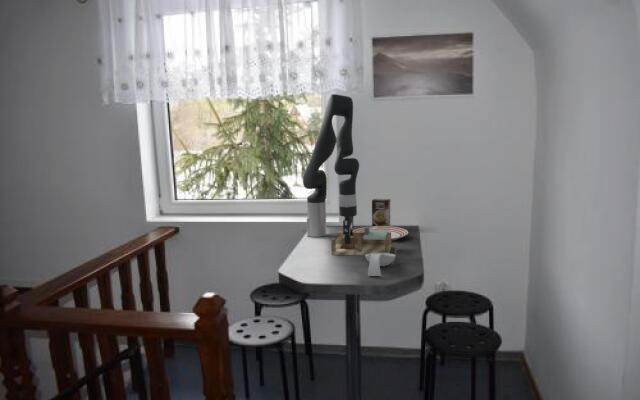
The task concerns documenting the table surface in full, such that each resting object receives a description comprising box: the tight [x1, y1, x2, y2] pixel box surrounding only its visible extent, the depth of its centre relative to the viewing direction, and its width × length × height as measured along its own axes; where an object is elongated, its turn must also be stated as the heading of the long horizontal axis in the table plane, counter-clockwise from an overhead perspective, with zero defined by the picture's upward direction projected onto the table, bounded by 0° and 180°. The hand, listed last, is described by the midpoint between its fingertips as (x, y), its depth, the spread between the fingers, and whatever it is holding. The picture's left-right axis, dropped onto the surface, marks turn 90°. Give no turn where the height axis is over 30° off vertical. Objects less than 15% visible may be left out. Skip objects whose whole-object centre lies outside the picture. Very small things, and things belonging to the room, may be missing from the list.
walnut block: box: [342, 236, 355, 249], centre depth 216 cm, size 5×5×6 cm
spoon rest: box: [364, 252, 396, 277], centre depth 189 cm, size 24×12×7 cm, turn 167°
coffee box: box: [371, 198, 391, 227], centre depth 262 cm, size 9×6×16 cm
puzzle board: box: [330, 231, 392, 256], centre depth 215 cm, size 24×16×7 cm
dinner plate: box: [353, 226, 409, 242], centre depth 243 cm, size 27×27×3 cm
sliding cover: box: [363, 225, 388, 240], centre depth 213 cm, size 9×16×4 cm, turn 168°
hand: (348, 241), depth 216 cm, fingers open, 8 cm apart
